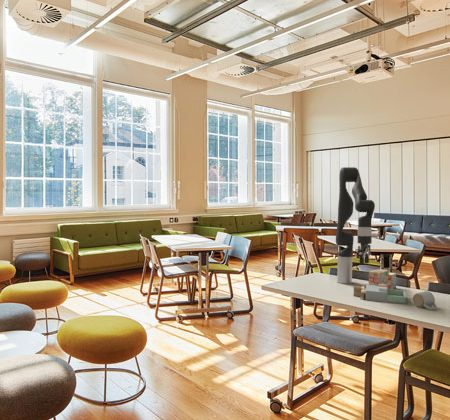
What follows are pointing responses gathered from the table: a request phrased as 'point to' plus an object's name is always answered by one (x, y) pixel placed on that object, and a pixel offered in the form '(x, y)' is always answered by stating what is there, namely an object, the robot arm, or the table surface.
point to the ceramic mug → (424, 300)
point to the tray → (396, 296)
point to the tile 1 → (383, 289)
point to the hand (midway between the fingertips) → (364, 263)
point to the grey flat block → (375, 293)
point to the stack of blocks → (382, 278)
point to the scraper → (359, 291)
